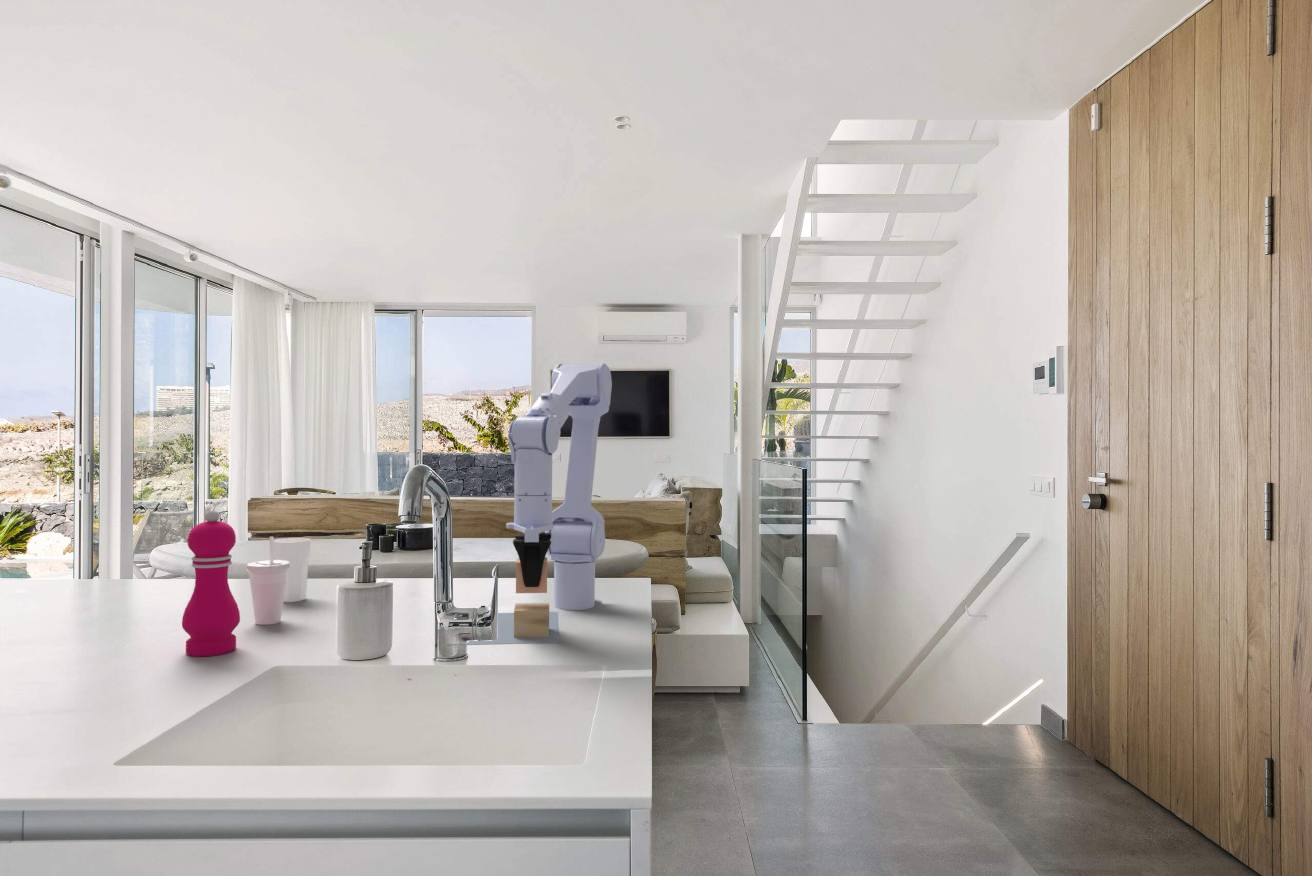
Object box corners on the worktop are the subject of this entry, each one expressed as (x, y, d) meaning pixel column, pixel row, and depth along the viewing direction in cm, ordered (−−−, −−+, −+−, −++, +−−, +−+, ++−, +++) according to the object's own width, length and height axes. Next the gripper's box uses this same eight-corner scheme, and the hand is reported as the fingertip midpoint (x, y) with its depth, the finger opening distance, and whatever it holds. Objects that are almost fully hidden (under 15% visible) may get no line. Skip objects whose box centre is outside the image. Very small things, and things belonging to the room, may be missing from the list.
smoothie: (272, 627, 127) (272, 539, 127) (236, 625, 129) (237, 538, 128) (297, 618, 134) (298, 534, 133) (264, 616, 135) (264, 533, 135)
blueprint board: (461, 618, 135) (461, 613, 135) (557, 616, 137) (557, 611, 137) (446, 650, 115) (446, 645, 115) (558, 647, 117) (558, 642, 117)
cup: (273, 596, 151) (274, 538, 151) (311, 595, 153) (312, 537, 153) (268, 604, 145) (268, 543, 144) (307, 602, 146) (308, 542, 146)
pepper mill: (174, 659, 110) (175, 513, 109) (190, 645, 116) (191, 508, 116) (233, 656, 111) (234, 512, 111) (244, 642, 118) (245, 507, 118)
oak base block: (515, 629, 125) (515, 603, 125) (549, 628, 126) (549, 602, 126) (513, 637, 120) (514, 610, 120) (549, 636, 120) (549, 610, 120)
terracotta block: (517, 587, 125) (517, 557, 125) (547, 587, 125) (547, 557, 125) (515, 593, 120) (516, 562, 120) (546, 592, 121) (547, 562, 121)
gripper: (509, 491, 129) (508, 575, 129) (503, 498, 115) (502, 593, 115) (553, 491, 130) (552, 574, 130) (553, 498, 116) (552, 592, 116)
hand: (532, 583), depth 123 cm, fingers closed on terracotta block, 5 cm apart
